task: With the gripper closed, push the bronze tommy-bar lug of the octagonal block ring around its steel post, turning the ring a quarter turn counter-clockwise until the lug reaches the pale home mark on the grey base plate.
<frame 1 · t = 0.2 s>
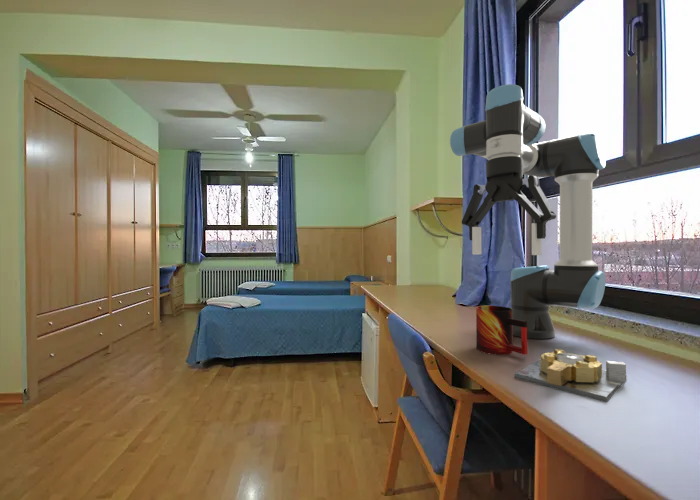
hand: (504, 254, 77), 28 cm above the table, fingers open, 13 cm apart
octagonal block ring: (566, 366, 76), point 3 cm above the table, hinge at 0.0°
mug: (502, 351, 99), on the table
grey base plate: (570, 378, 78), on the table
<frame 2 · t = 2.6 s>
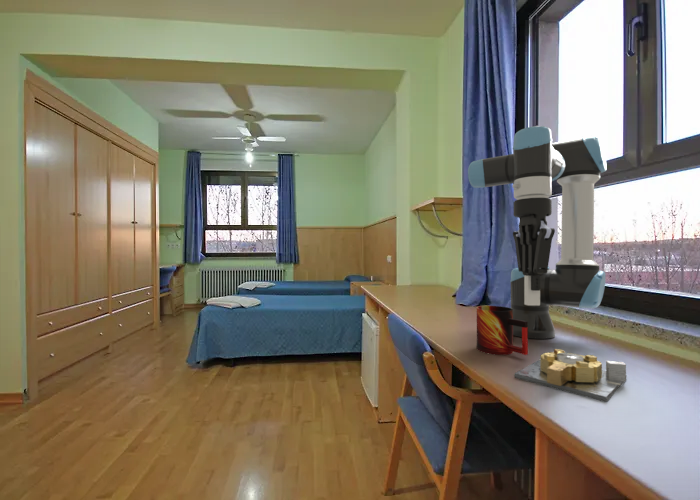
hand: (532, 304, 77), 17 cm above the table, fingers closed
nothing on the table moved.
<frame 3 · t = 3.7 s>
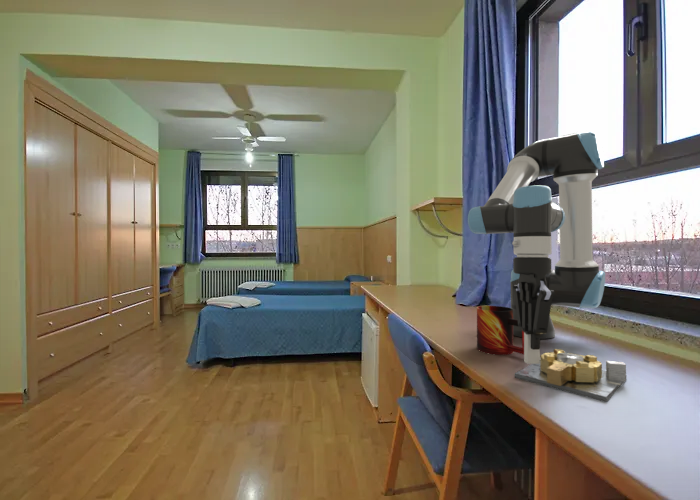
hand: (531, 362, 77), 4 cm above the table, fingers closed
nothing on the table moved.
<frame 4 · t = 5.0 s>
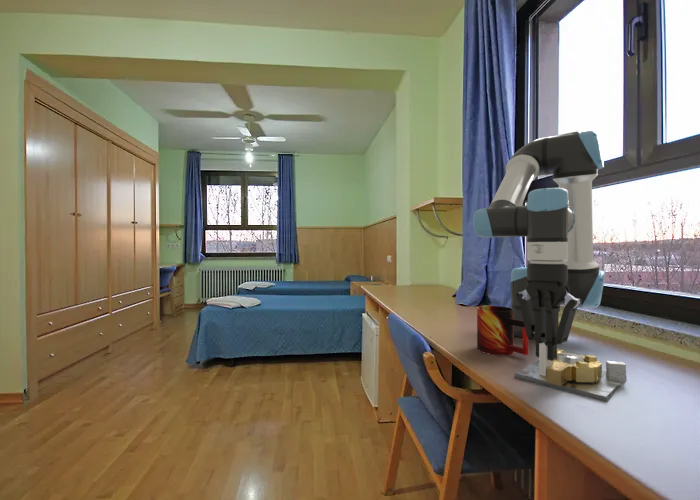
hand: (545, 373, 74), 2 cm above the table, fingers closed
octagonal block ring: (566, 366, 76), point 3 cm above the table, hinge at 0.3°, touching gripper
everything else where it was.
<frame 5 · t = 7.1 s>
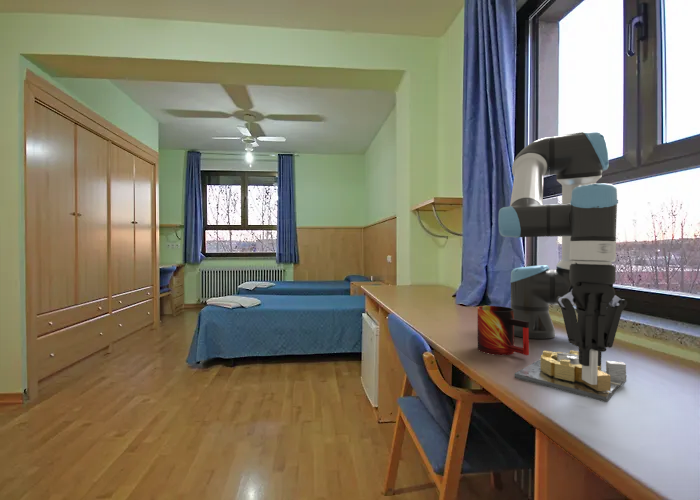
hand: (589, 381, 69), 3 cm above the table, fingers closed
octagonal block ring: (576, 367, 75), point 3 cm above the table, hinge at 50.6°, touching gripper
everything else where it was.
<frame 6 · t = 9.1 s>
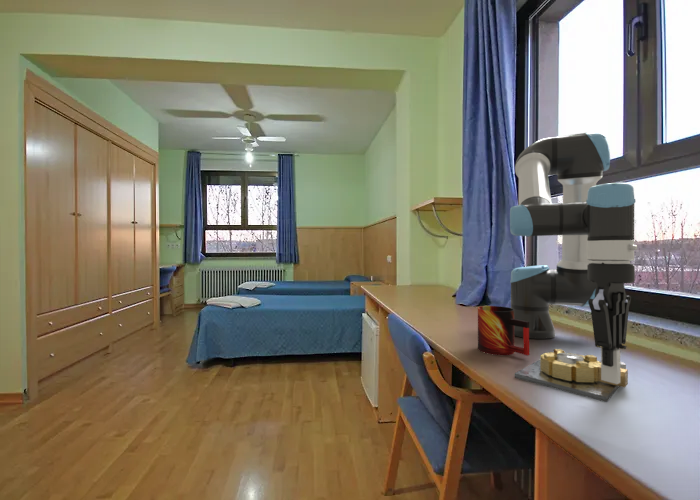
hand: (610, 381, 69), 3 cm above the table, fingers closed
octagonal block ring: (581, 366, 76), point 3 cm above the table, hinge at 90.2°
everything else where it was.
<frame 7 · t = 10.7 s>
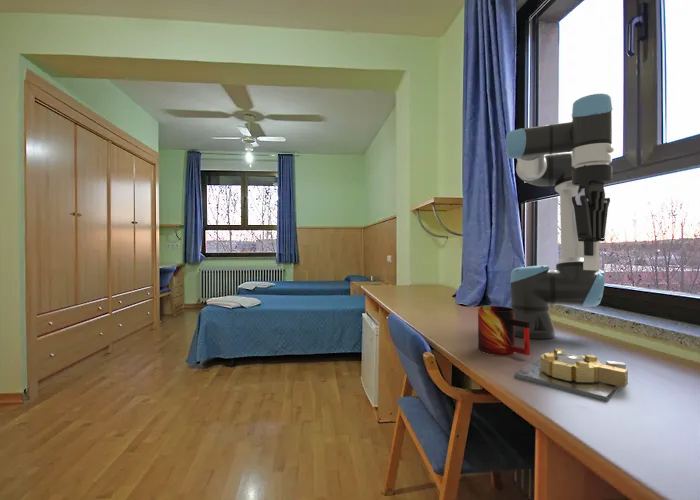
hand: (591, 269, 80), 24 cm above the table, fingers closed
nothing on the table moved.
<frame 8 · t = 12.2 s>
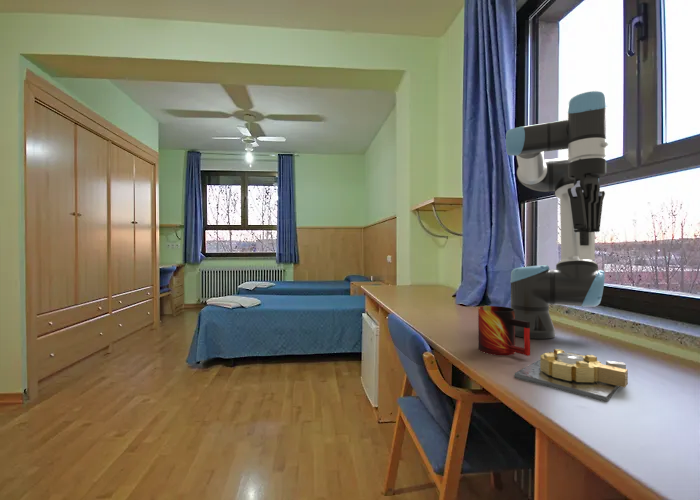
hand: (586, 259, 83), 26 cm above the table, fingers closed
nothing on the table moved.
at the end: octagonal block ring at +90° (first picture: +0°) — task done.
